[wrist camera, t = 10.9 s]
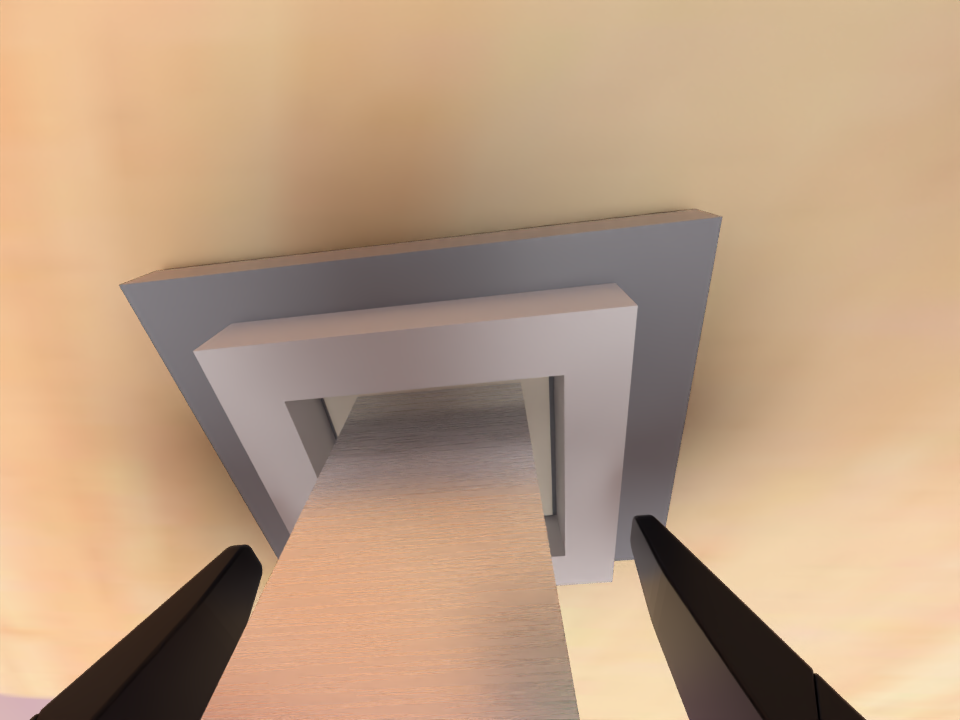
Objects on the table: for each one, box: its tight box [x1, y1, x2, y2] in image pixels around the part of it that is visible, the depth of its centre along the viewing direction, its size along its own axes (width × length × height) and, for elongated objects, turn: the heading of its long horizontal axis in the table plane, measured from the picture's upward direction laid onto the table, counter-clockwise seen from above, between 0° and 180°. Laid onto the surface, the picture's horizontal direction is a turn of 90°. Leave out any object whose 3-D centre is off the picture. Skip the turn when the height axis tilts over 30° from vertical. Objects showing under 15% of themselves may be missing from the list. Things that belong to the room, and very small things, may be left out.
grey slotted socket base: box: [119, 209, 722, 586], centre depth 12 cm, size 14×12×3 cm
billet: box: [201, 383, 580, 720], centre depth 8 cm, size 4×4×8 cm
